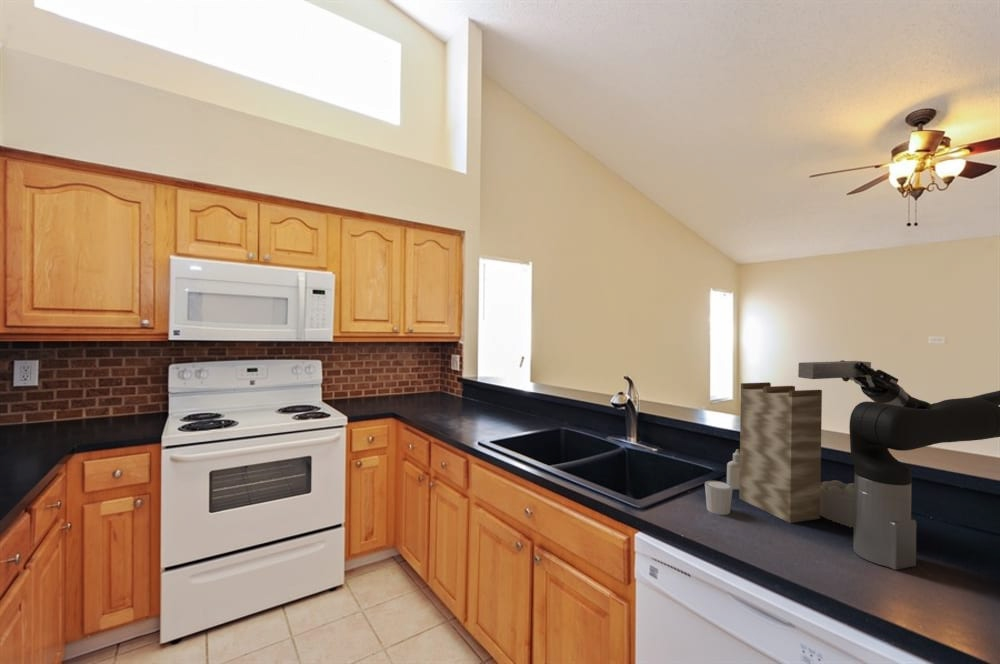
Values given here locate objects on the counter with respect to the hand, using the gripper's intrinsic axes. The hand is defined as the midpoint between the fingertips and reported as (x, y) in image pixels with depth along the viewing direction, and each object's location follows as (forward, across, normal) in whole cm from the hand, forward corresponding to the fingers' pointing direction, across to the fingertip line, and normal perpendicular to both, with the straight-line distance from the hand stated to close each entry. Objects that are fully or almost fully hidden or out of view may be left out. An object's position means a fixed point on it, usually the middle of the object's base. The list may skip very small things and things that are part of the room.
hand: (849, 364), depth 121 cm
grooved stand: (-1, +3, -45) cm, 45 cm away
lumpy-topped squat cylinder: (-11, -6, -39) cm, 41 cm away
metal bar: (+3, 0, -6) cm, 7 cm away
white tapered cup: (+14, +6, -54) cm, 56 cm away
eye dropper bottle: (-2, +18, -45) cm, 48 cm away
